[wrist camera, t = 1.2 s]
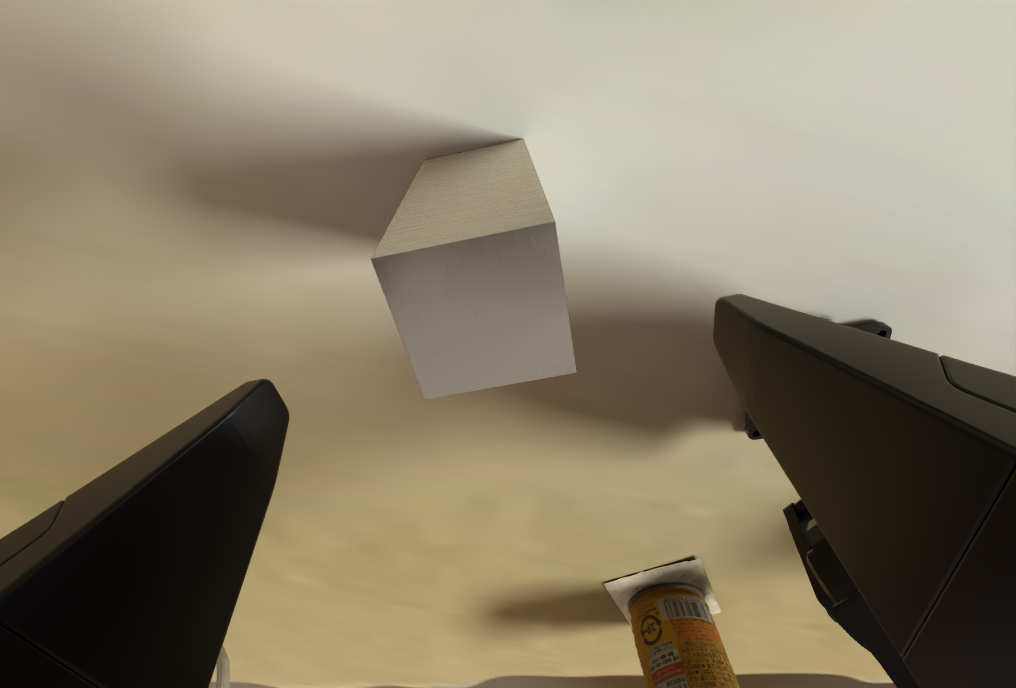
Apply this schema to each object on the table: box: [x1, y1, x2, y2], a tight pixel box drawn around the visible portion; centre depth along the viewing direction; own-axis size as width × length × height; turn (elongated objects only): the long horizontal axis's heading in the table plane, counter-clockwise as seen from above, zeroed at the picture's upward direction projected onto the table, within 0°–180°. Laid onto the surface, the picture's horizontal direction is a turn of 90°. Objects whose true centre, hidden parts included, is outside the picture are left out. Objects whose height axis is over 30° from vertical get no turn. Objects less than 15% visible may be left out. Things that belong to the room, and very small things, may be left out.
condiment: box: [604, 559, 740, 688], centre depth 32 cm, size 7×8×12 cm
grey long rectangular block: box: [371, 139, 577, 400], centre depth 15 cm, size 4×4×10 cm
